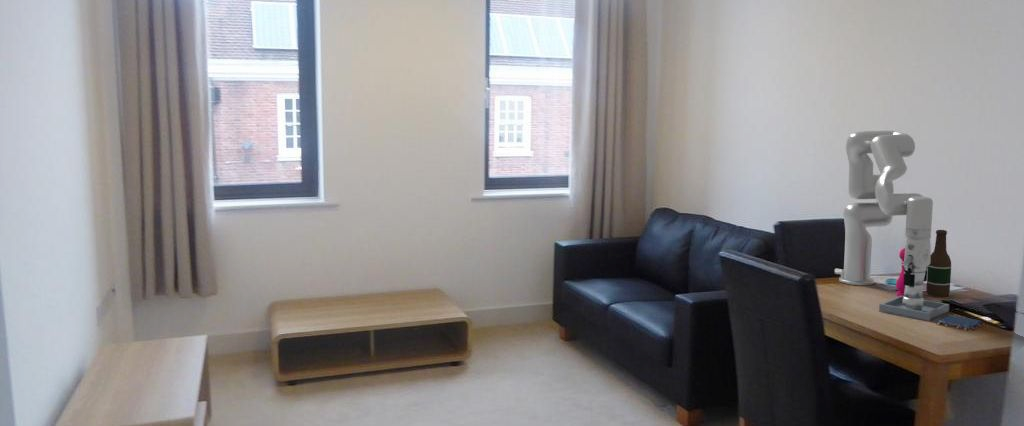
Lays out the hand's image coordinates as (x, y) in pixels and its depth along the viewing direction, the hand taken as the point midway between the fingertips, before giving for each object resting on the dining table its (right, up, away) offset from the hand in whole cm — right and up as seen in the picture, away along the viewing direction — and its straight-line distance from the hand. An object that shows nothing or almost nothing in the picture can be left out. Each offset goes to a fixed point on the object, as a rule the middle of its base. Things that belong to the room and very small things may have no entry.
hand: (915, 283), depth 247 cm
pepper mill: (+7, -7, +18) cm, 21 cm away
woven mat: (+7, -13, -14) cm, 20 cm away
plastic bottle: (-1, -10, 0) cm, 10 cm away
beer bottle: (+20, -6, +21) cm, 30 cm away
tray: (0, -10, +1) cm, 10 cm away
